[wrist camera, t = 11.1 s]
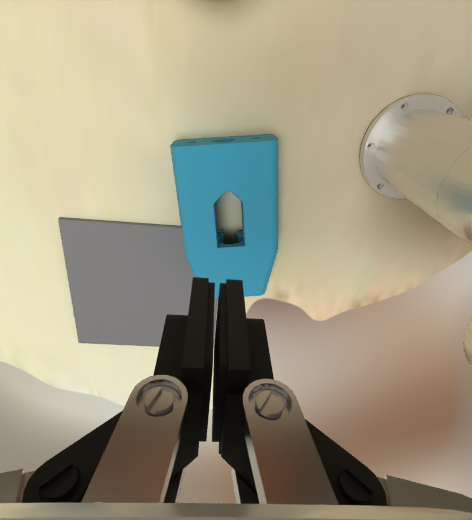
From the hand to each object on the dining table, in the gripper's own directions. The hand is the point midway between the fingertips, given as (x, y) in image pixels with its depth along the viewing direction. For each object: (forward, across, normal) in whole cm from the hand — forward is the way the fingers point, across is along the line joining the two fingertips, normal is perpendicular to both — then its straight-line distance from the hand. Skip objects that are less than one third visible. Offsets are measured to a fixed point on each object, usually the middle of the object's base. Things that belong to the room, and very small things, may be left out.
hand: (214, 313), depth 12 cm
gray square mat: (+35, +10, +24) cm, 44 cm away
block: (+32, -4, +20) cm, 38 cm away
